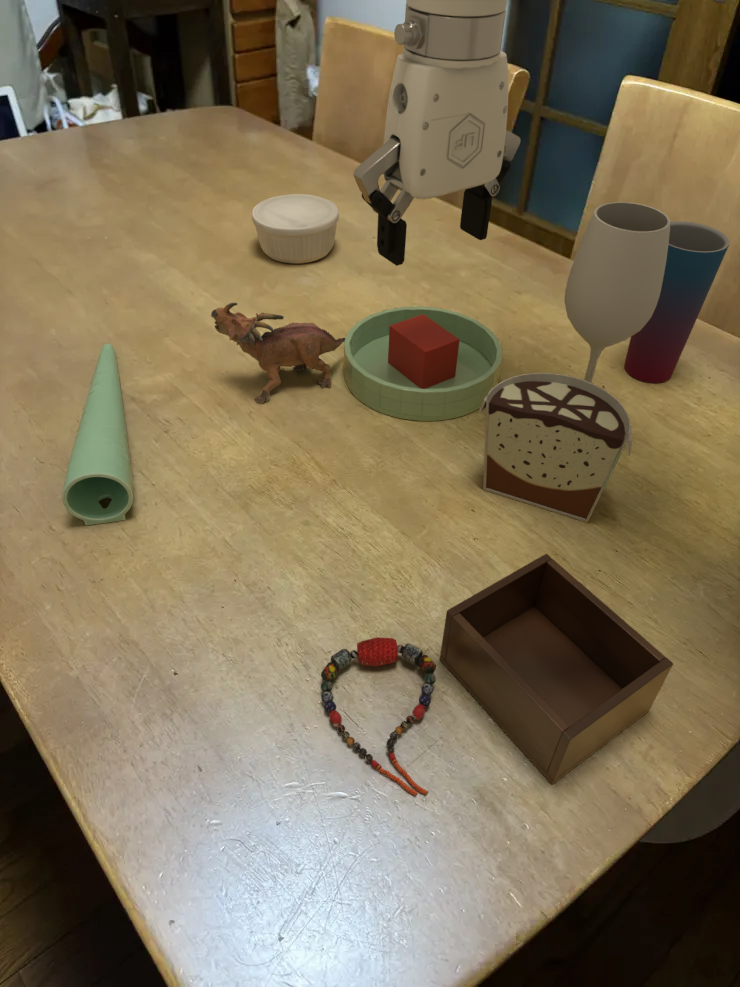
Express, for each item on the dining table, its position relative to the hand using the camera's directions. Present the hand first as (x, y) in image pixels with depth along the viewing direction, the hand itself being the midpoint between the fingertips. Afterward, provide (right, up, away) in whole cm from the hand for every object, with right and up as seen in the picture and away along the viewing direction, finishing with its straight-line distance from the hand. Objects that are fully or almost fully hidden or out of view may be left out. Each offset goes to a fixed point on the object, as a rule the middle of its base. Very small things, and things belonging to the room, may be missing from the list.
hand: (432, 246), depth 69 cm
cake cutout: (+10, -22, -2) cm, 24 cm away
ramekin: (-16, +10, +31) cm, 36 cm away
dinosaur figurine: (-14, -11, +9) cm, 20 cm away
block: (0, -10, +10) cm, 14 cm away
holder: (+6, -36, -17) cm, 41 cm away
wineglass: (+14, -17, +4) cm, 22 cm away
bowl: (0, -10, +10) cm, 14 cm away
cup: (+24, -10, +12) cm, 29 cm away
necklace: (-5, -38, -19) cm, 43 cm away
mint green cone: (-31, -17, +3) cm, 35 cm away
